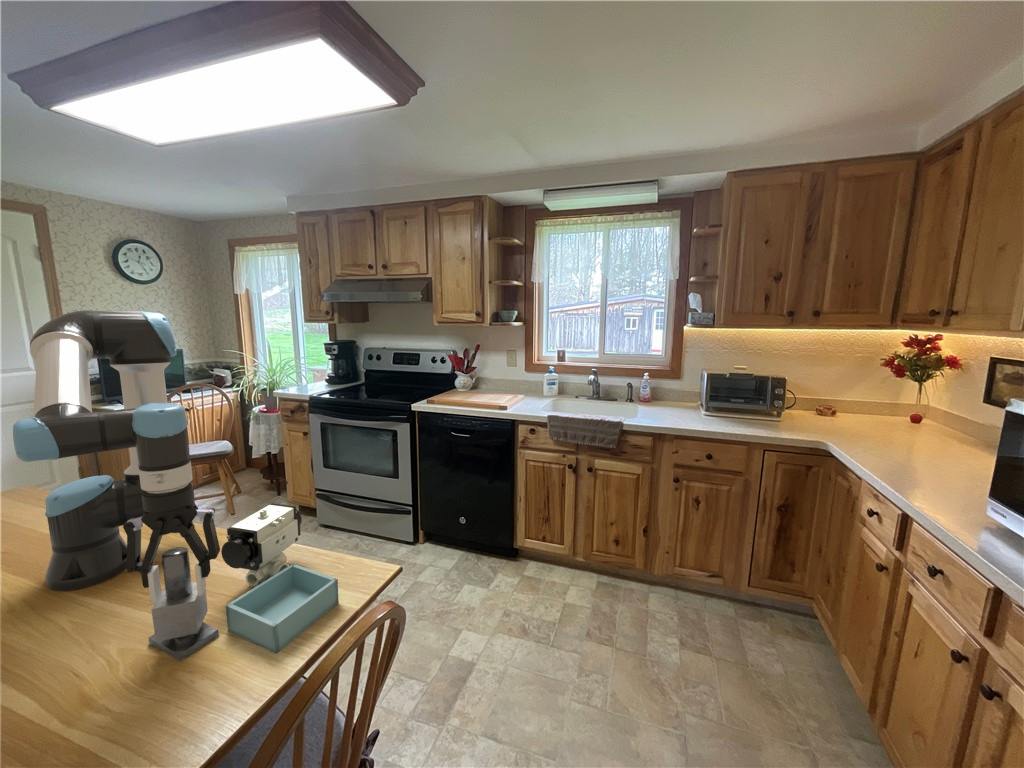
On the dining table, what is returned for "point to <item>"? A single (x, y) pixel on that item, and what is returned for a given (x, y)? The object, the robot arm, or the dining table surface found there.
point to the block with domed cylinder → (178, 599)
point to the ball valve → (262, 542)
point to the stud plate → (186, 642)
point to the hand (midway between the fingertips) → (179, 595)
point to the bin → (282, 607)
